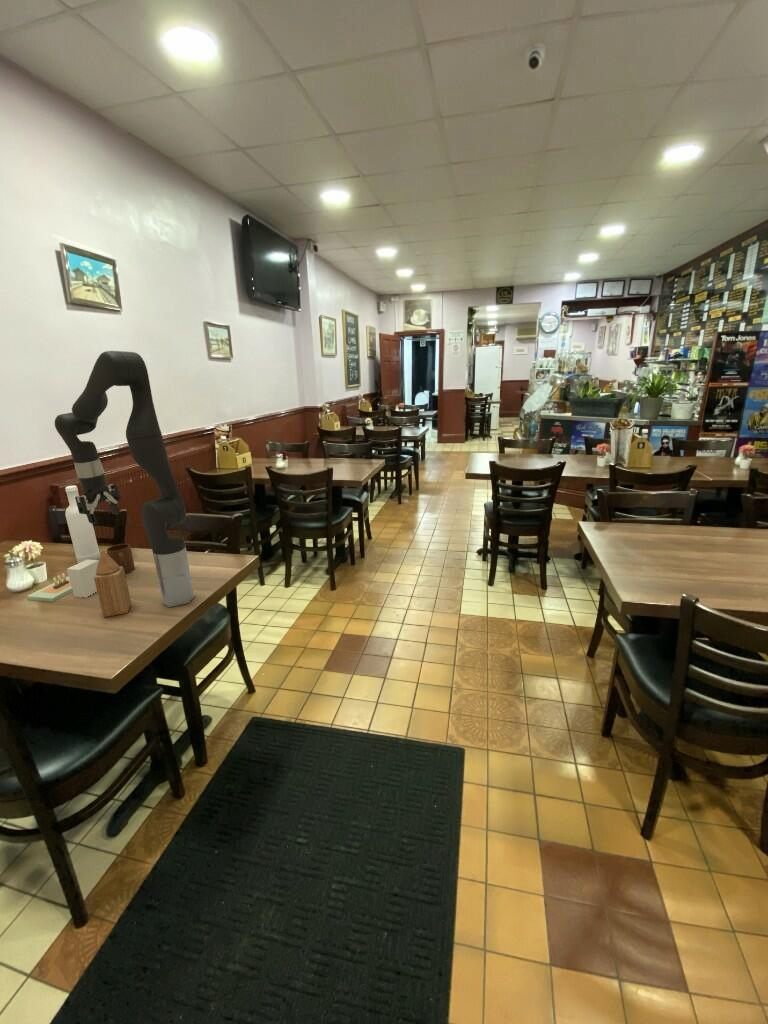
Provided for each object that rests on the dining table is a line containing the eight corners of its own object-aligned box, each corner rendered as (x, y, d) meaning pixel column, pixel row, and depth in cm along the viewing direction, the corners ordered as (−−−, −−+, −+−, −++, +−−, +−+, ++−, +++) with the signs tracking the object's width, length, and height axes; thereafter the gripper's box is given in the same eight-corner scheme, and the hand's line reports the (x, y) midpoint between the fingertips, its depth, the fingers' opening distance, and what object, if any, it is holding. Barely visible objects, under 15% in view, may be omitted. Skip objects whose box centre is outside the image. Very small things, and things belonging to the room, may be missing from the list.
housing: (93, 586, 149) (86, 559, 146) (105, 587, 148) (98, 560, 145) (74, 596, 141) (66, 568, 138) (86, 597, 140) (79, 569, 138)
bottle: (104, 558, 172) (87, 485, 163) (83, 565, 166) (64, 490, 157) (94, 554, 176) (77, 483, 168) (73, 561, 170) (54, 487, 161)
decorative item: (108, 607, 134) (93, 547, 128) (132, 603, 136) (118, 544, 130) (103, 618, 128) (87, 555, 122) (128, 613, 130) (114, 552, 124)
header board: (71, 577, 155) (67, 565, 154) (94, 579, 153) (91, 566, 152) (27, 599, 141) (23, 585, 139) (52, 601, 139) (48, 587, 137)
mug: (138, 575, 156) (133, 551, 153) (114, 581, 152) (108, 556, 149) (133, 564, 165) (128, 542, 162) (110, 570, 161) (105, 546, 158)
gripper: (79, 480, 135) (95, 528, 141) (117, 468, 148) (130, 511, 154) (62, 479, 137) (78, 526, 143) (100, 467, 150) (114, 510, 156)
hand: (105, 518), depth 149 cm, fingers open, 8 cm apart
